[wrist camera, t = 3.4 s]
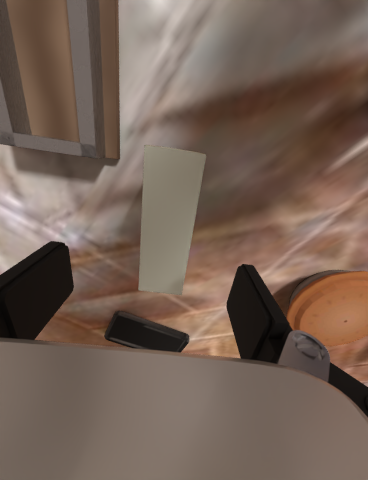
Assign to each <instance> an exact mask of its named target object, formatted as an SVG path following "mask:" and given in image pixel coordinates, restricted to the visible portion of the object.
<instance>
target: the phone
mask: <svg viewBox="0 0 368 480" xmlns="http://www.w3.org/2000/svg"><path fill="white" fill-rule="evenodd" d="M104 337H105V339H107V340H109V341H112V342H115V343H118V344H121V345H124V346H127V347H131V348H135V349H147V350H158V351H169V352H180V353H181V351H182V350H183V349H184V348H185V346H186V345H187V344H188V343H189V335H188V334H186V333H183V332H180V331H177V330H174V329H171V328H169V327H166V326H163V325H160V324H157V323H154V322H152V321H149V320H146V319H143V318H140V317H137V316H134V315H132V314H129V313H126V312H123V311H117V312H116V313H115V314H114V316H113V318H112V320H111V322H110V325H109V327H108V329H107V331H106V333H105V336H104Z"/></svg>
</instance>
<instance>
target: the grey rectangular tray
mask: <svg viewBox="0 0 368 480" xmlns="http://www.w3.org/2000/svg"><path fill="white" fill-rule="evenodd" d="M0 144H3V145H10V146H17V147H23V148H30V149H37V150H43V151H50V152H57V153H63V154H70V155H77V156H83V157H90V158H105V157H106V158H113V159H120V118H119V22H118V0H0Z"/></svg>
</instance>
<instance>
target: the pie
mask: <svg viewBox="0 0 368 480" xmlns="http://www.w3.org/2000/svg"><path fill="white" fill-rule="evenodd" d="M286 319H287V320H288V322H289V323H290V326H291V328H292V329H293V330H300V331H304V332H306V333H308V334H311V335H312V336H314V337H315V338H317V339H318V340H319V341H320V342H321V343H322V344H323V345H324V346H337V345H342V344H347V343H350V342H353V341H356V340H359V339H361V338H363V337H365V336H367V335H368V272H366V271H344V270H328V271H324V272H320V273H317V274H315V275H313V276H311V277H308V278H307V279H306V280H304V281H303V282H302V283H300V284H299V285H298V286H297V287H296V289H295V290H294V291H293V293H292V295H291V297H290V302H289V308H288V312H287V317H286Z"/></svg>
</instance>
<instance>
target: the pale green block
mask: <svg viewBox="0 0 368 480" xmlns="http://www.w3.org/2000/svg"><path fill="white" fill-rule="evenodd" d="M205 160H206V154H203V153H199V152H194V151H188V150H181V149H175V148H168V147H161V146H150V145H145V146H144V170H143V194H142V218H141V242H140V266H139V289H138V290H140V291H149V292H157V293H166V294H175V295H182V290H183V285H184V279H185V273H186V268H187V262H188V256H189V251H190V245H191V239H192V234H193V228H194V222H195V217H196V211H197V205H198V200H199V194H200V188H201V182H202V177H203V171H204V165H205Z"/></svg>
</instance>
